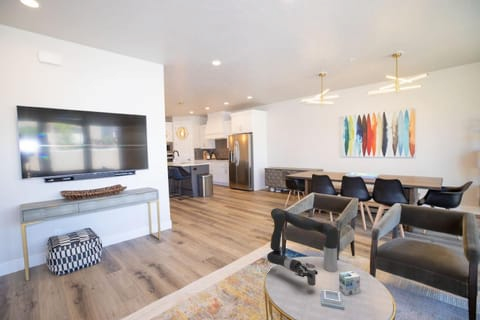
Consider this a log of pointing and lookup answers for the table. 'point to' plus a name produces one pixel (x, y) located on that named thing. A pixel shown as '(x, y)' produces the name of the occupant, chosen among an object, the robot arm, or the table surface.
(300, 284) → the table surface
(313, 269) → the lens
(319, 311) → the table surface
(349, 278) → the light bulb box
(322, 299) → the blue square socket base
